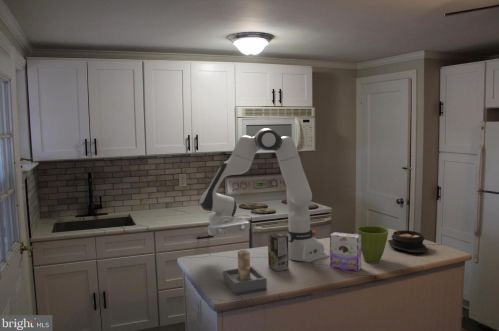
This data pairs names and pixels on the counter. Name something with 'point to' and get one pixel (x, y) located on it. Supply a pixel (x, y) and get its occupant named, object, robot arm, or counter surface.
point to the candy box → (345, 251)
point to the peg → (243, 265)
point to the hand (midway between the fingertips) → (234, 231)
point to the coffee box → (278, 251)
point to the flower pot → (372, 242)
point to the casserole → (408, 241)
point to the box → (252, 285)
